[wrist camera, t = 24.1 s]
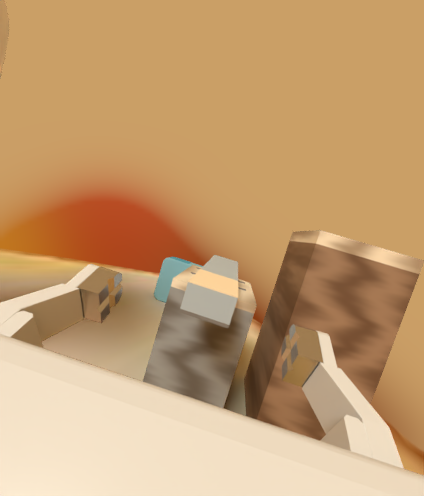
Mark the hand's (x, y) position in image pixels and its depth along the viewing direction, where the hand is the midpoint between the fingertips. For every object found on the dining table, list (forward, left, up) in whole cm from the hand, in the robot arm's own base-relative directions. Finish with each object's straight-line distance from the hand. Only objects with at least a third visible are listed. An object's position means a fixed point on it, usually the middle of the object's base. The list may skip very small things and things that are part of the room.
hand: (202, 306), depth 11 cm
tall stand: (+15, +23, -19) cm, 33 cm away
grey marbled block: (0, +23, -19) cm, 30 cm away
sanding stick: (0, +18, -3) cm, 19 cm away
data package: (-10, +54, -20) cm, 59 cm away
